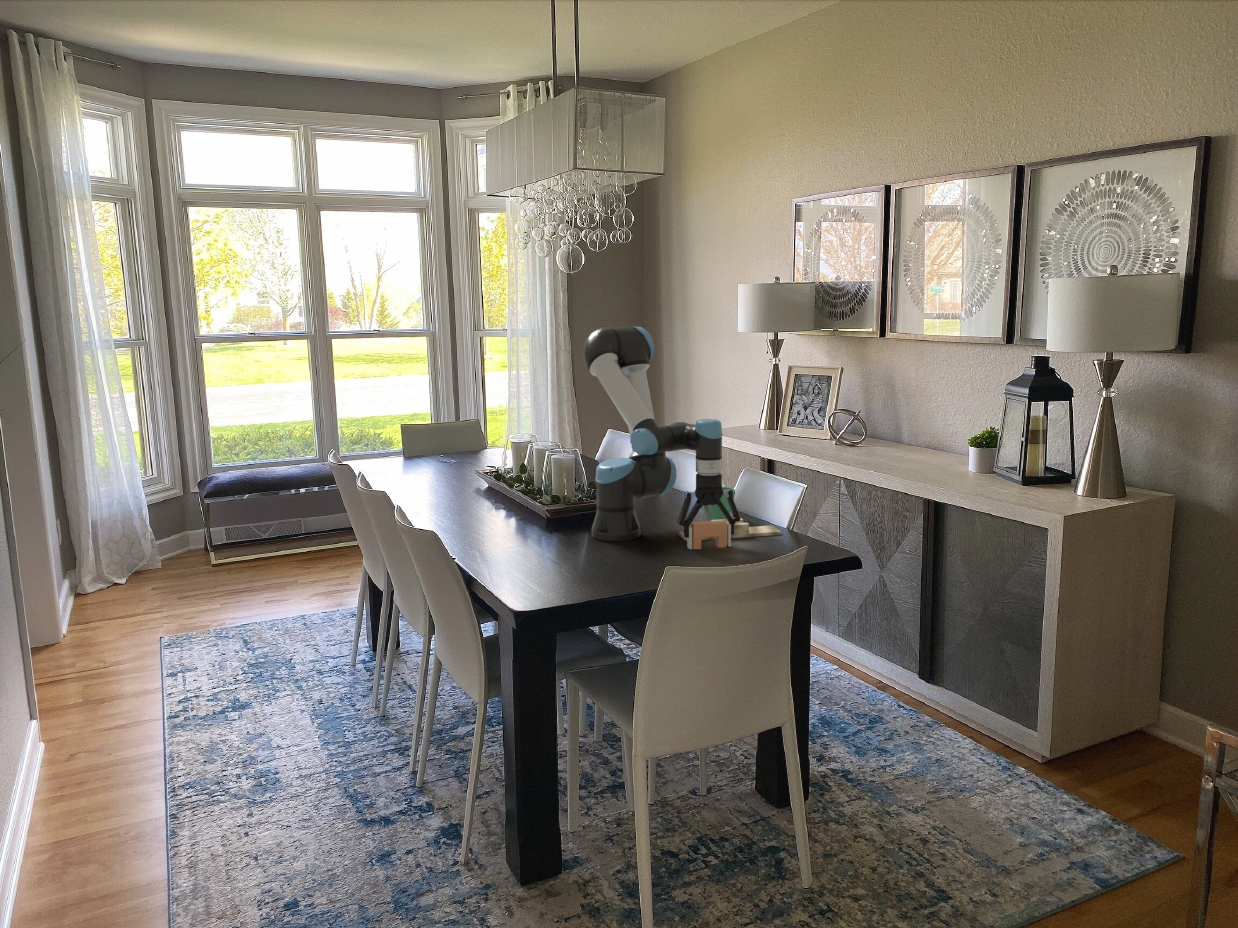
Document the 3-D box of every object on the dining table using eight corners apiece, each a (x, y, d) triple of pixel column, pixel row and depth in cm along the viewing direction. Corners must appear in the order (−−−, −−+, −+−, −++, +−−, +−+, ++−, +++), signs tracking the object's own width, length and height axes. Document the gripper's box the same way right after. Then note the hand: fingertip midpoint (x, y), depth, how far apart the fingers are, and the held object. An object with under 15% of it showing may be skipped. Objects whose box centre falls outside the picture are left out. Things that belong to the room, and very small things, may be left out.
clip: (693, 549, 268) (693, 524, 267) (691, 547, 271) (690, 522, 269) (726, 547, 270) (726, 522, 268) (723, 544, 273) (723, 520, 271)
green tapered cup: (740, 521, 299) (740, 491, 297) (713, 524, 296) (713, 494, 294) (720, 512, 313) (720, 483, 311) (693, 515, 309) (693, 485, 307)
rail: (685, 541, 277) (685, 528, 276) (679, 534, 285) (678, 522, 284) (780, 534, 282) (780, 522, 282) (771, 528, 290) (772, 516, 289)
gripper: (672, 477, 260) (673, 552, 264) (751, 473, 265) (751, 547, 269) (666, 472, 268) (667, 546, 272) (743, 468, 272) (743, 540, 276)
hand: (709, 546), depth 270 cm, fingers open, 11 cm apart
